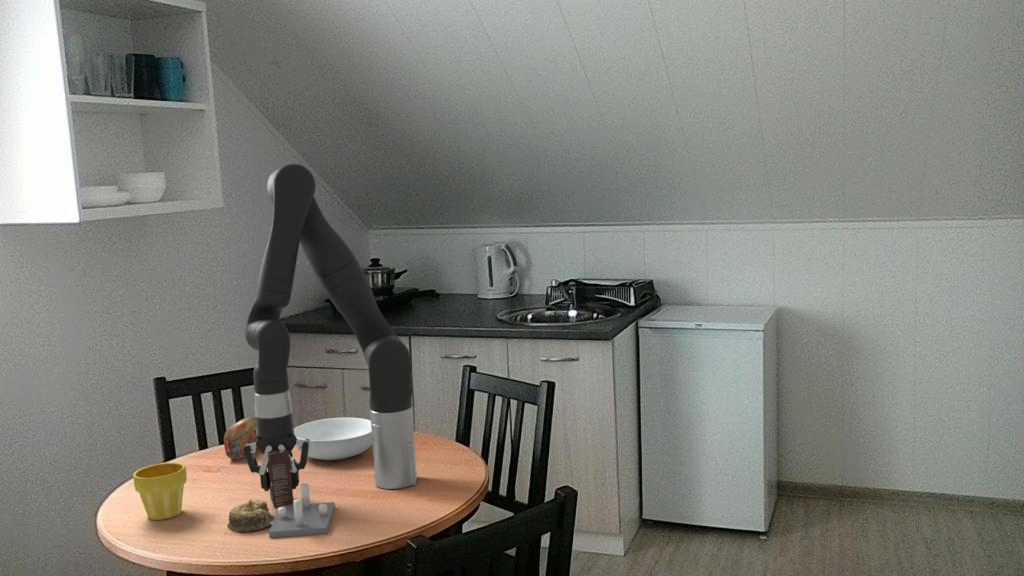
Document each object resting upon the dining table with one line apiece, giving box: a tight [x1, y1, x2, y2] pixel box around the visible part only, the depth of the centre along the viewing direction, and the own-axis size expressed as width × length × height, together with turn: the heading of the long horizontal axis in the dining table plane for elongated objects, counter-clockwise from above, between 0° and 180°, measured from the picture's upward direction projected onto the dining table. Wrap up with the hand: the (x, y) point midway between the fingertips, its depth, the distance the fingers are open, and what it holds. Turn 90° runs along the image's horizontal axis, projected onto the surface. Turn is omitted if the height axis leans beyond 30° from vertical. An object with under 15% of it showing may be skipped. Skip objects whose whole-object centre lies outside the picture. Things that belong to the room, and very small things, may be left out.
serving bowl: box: [294, 417, 373, 461], centre depth 231 cm, size 21×21×7 cm
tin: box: [223, 416, 258, 460], centre depth 235 cm, size 15×3×8 cm, turn 168°
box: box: [267, 450, 294, 509], centre depth 198 cm, size 6×4×12 cm
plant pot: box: [132, 461, 188, 521], centre depth 195 cm, size 10×10×10 cm
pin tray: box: [268, 483, 336, 538], centre depth 187 cm, size 11×14×6 cm
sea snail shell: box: [227, 498, 277, 533], centre depth 188 cm, size 10×10×5 cm
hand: (280, 488), depth 199 cm, fingers closed on box, 5 cm apart
